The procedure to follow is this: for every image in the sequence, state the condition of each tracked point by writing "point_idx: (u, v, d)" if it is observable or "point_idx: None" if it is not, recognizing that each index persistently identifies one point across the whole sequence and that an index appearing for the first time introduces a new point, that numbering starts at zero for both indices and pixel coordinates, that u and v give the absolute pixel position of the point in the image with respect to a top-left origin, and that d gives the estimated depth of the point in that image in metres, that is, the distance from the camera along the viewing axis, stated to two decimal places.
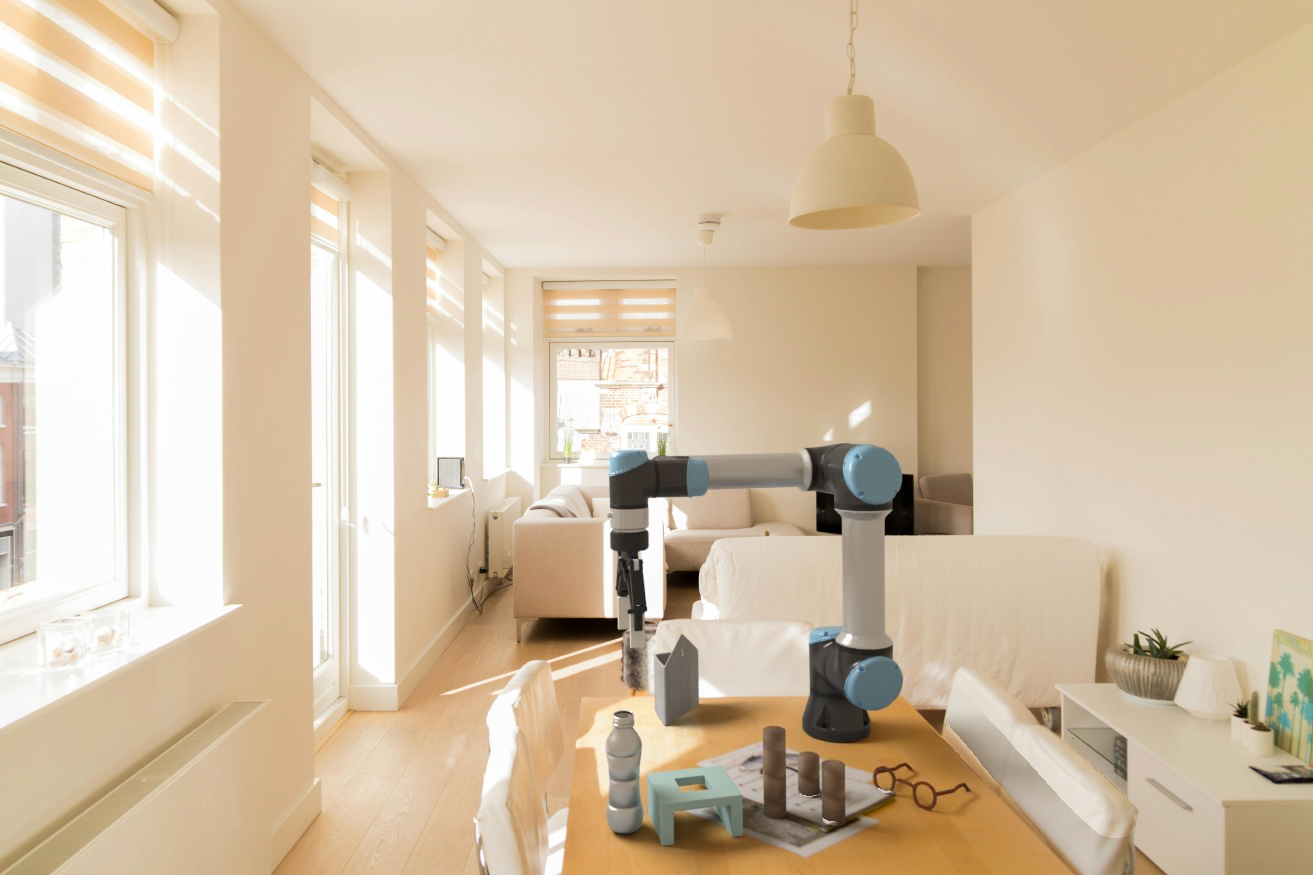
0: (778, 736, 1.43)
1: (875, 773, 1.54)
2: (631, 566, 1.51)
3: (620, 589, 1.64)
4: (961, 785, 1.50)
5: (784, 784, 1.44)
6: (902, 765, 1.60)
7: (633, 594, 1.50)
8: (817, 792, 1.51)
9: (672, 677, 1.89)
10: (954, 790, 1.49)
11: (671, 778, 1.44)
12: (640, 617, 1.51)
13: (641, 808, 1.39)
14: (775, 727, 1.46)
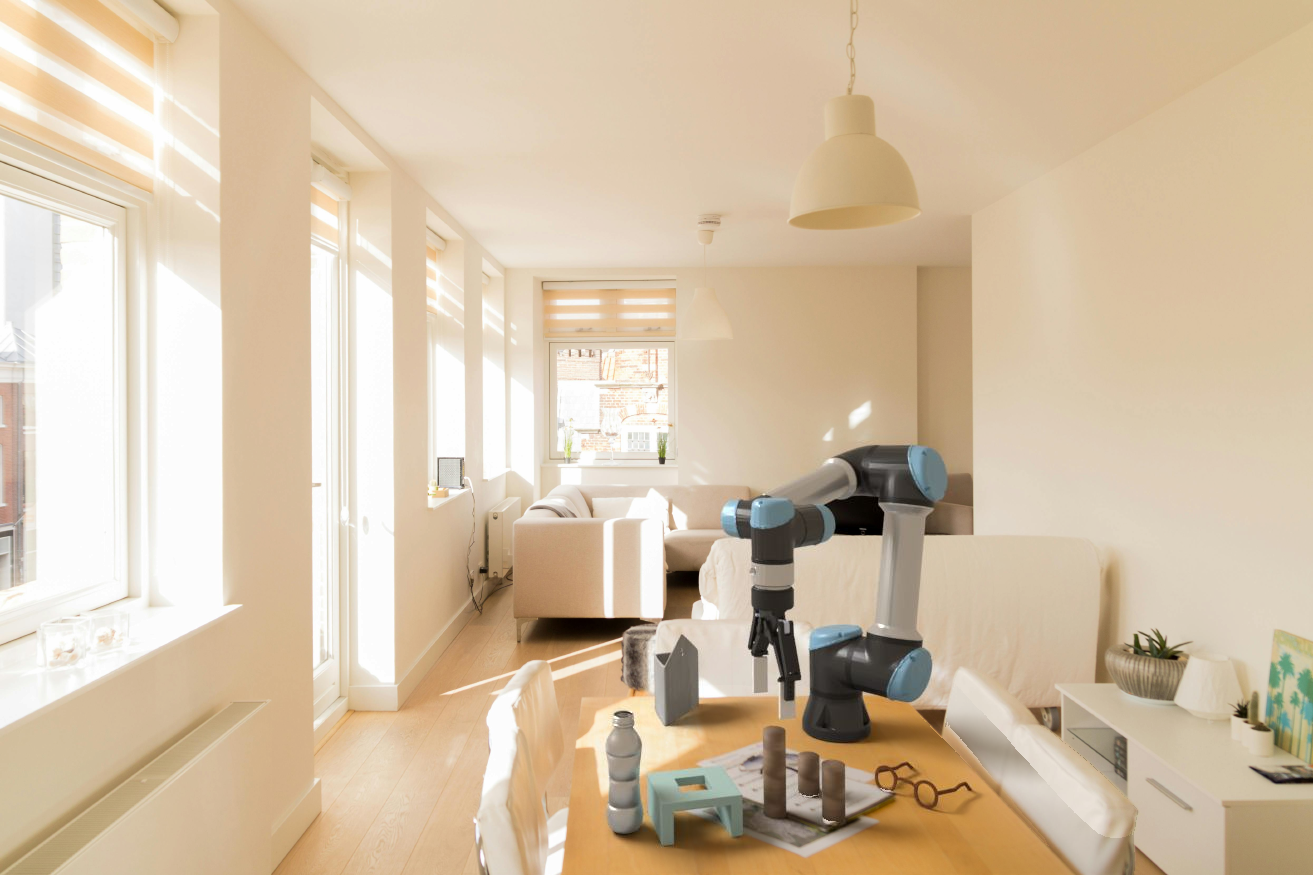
0: (778, 736, 1.43)
1: (877, 772, 1.55)
2: (781, 629, 1.37)
3: (756, 649, 1.50)
4: (962, 784, 1.51)
5: (784, 784, 1.44)
6: (903, 764, 1.60)
7: (785, 660, 1.35)
8: (817, 792, 1.51)
9: (672, 677, 1.89)
10: (955, 789, 1.49)
11: (671, 778, 1.44)
12: (792, 686, 1.36)
13: (641, 808, 1.39)
14: (775, 727, 1.46)
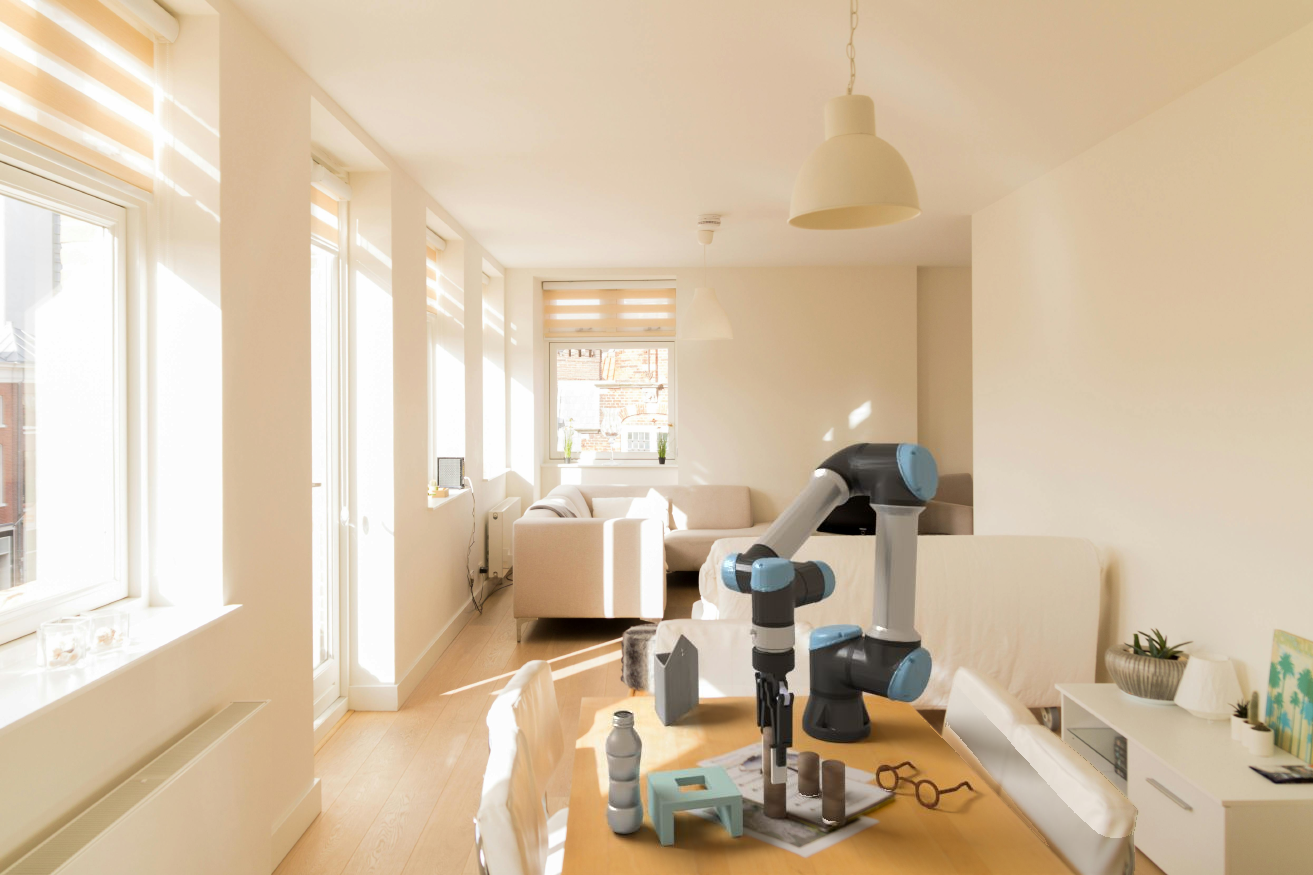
0: None
1: (878, 771, 1.55)
2: (781, 702, 1.38)
3: (764, 722, 1.47)
4: (964, 784, 1.51)
5: (784, 784, 1.44)
6: (905, 764, 1.60)
7: (780, 731, 1.39)
8: (817, 792, 1.51)
9: (672, 677, 1.89)
10: (957, 788, 1.50)
11: (671, 778, 1.44)
12: (784, 752, 1.41)
13: (641, 808, 1.39)
14: None
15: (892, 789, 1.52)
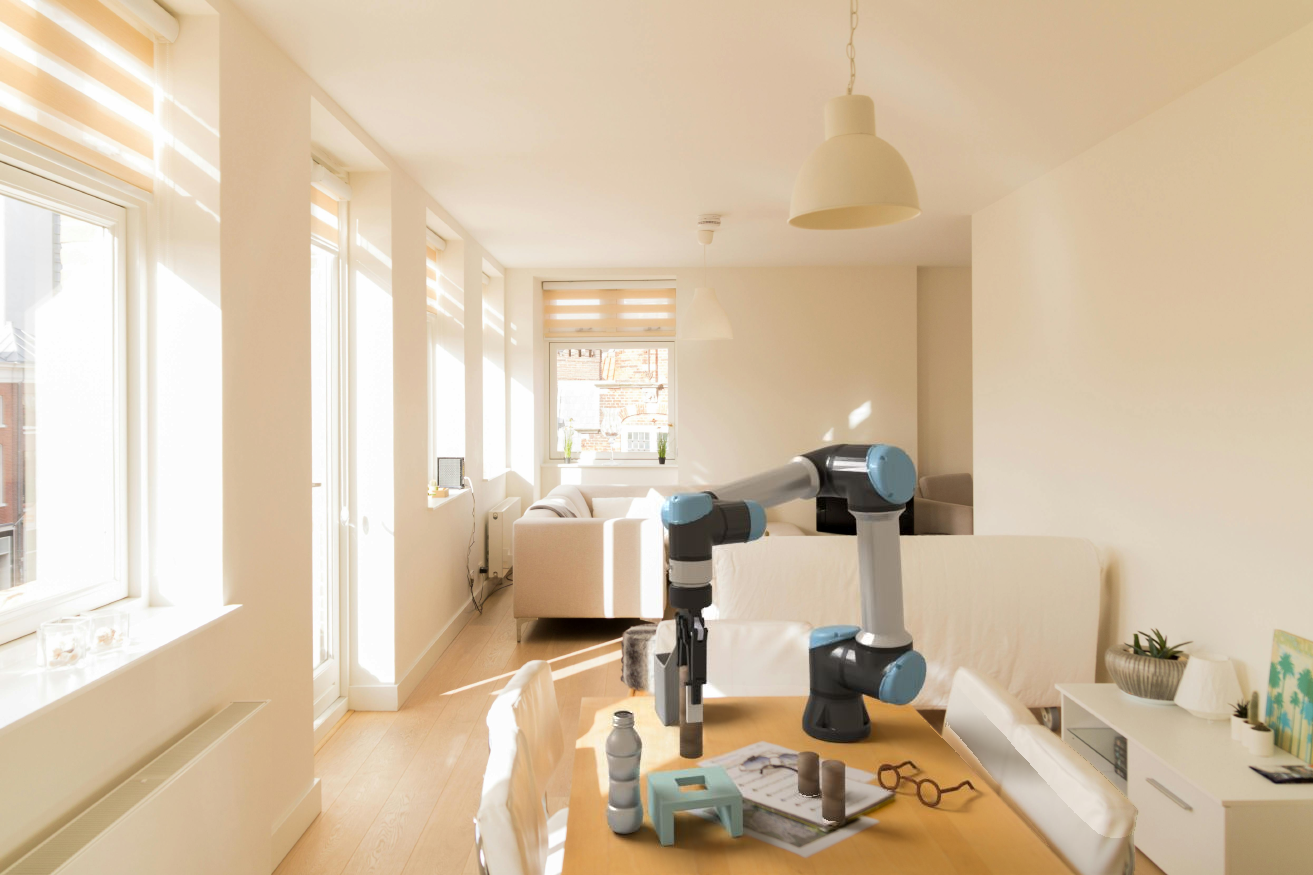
0: None
1: (879, 771, 1.55)
2: (694, 637, 1.35)
3: (682, 662, 1.43)
4: (965, 783, 1.51)
5: (700, 724, 1.40)
6: (906, 763, 1.61)
7: (693, 667, 1.35)
8: (817, 792, 1.51)
9: (672, 677, 1.89)
10: (958, 788, 1.50)
11: (671, 778, 1.44)
12: (698, 689, 1.37)
13: (641, 808, 1.39)
14: None
15: (894, 788, 1.52)
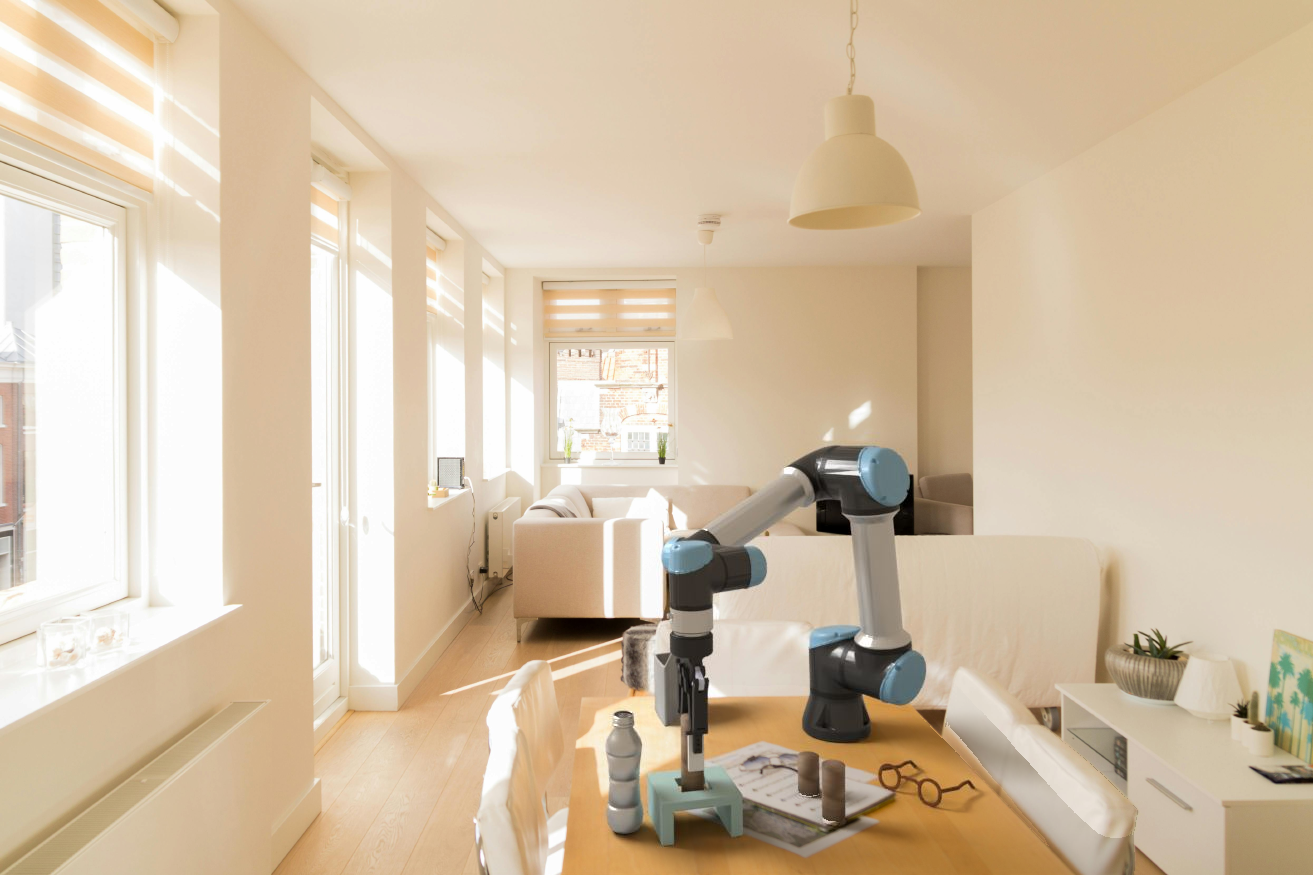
0: None
1: (880, 770, 1.55)
2: (696, 687, 1.35)
3: (683, 709, 1.43)
4: (966, 782, 1.52)
5: (701, 772, 1.40)
6: (907, 763, 1.61)
7: (695, 717, 1.36)
8: (817, 792, 1.51)
9: (672, 677, 1.89)
10: (959, 787, 1.50)
11: (671, 778, 1.44)
12: (700, 739, 1.38)
13: (641, 808, 1.39)
14: None
15: (894, 788, 1.53)
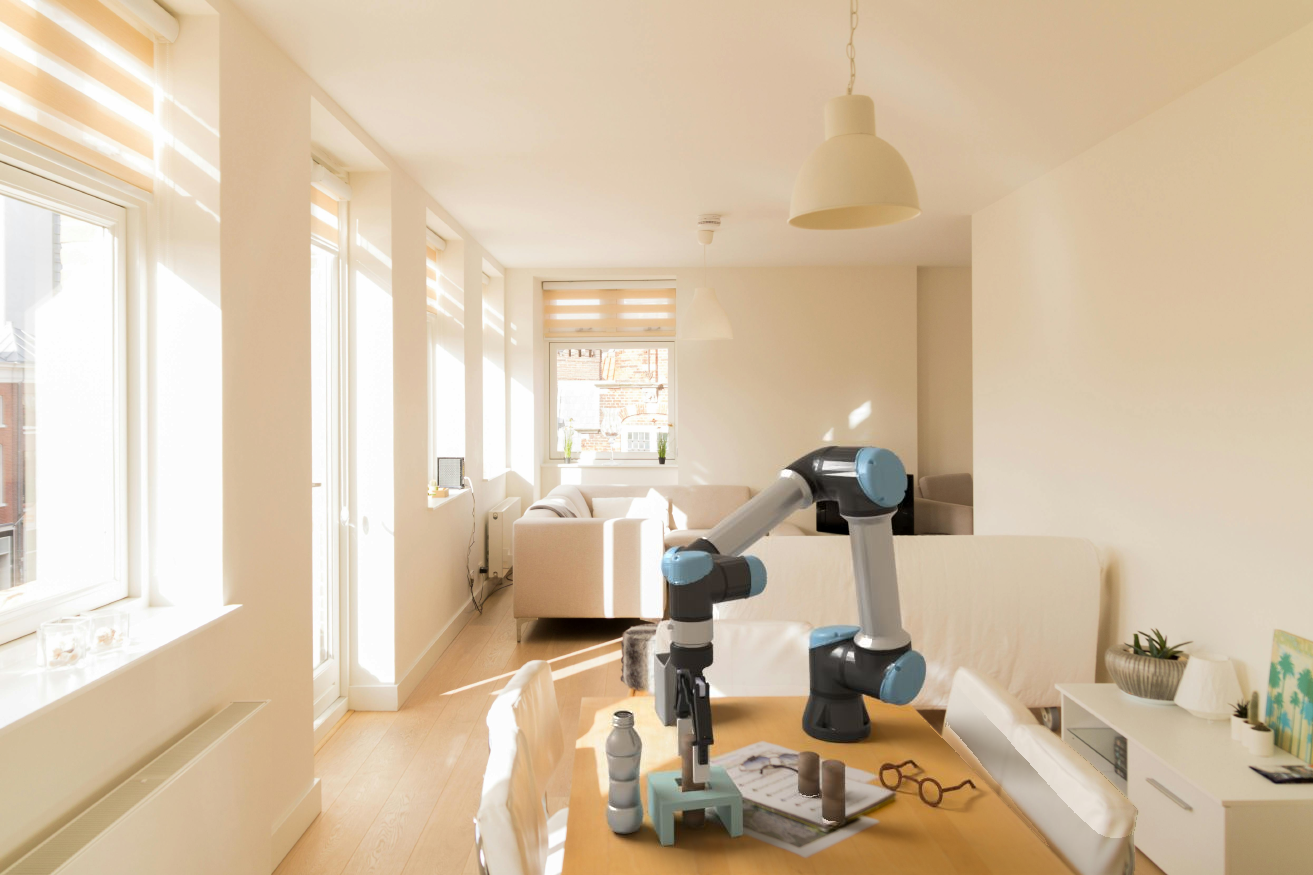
0: None
1: (881, 770, 1.56)
2: (697, 692, 1.34)
3: (680, 709, 1.46)
4: (966, 782, 1.52)
5: None
6: (908, 762, 1.61)
7: (699, 725, 1.33)
8: (817, 792, 1.51)
9: (672, 677, 1.89)
10: (960, 787, 1.50)
11: (671, 778, 1.44)
12: (705, 749, 1.35)
13: (641, 808, 1.39)
14: None
15: (895, 787, 1.53)
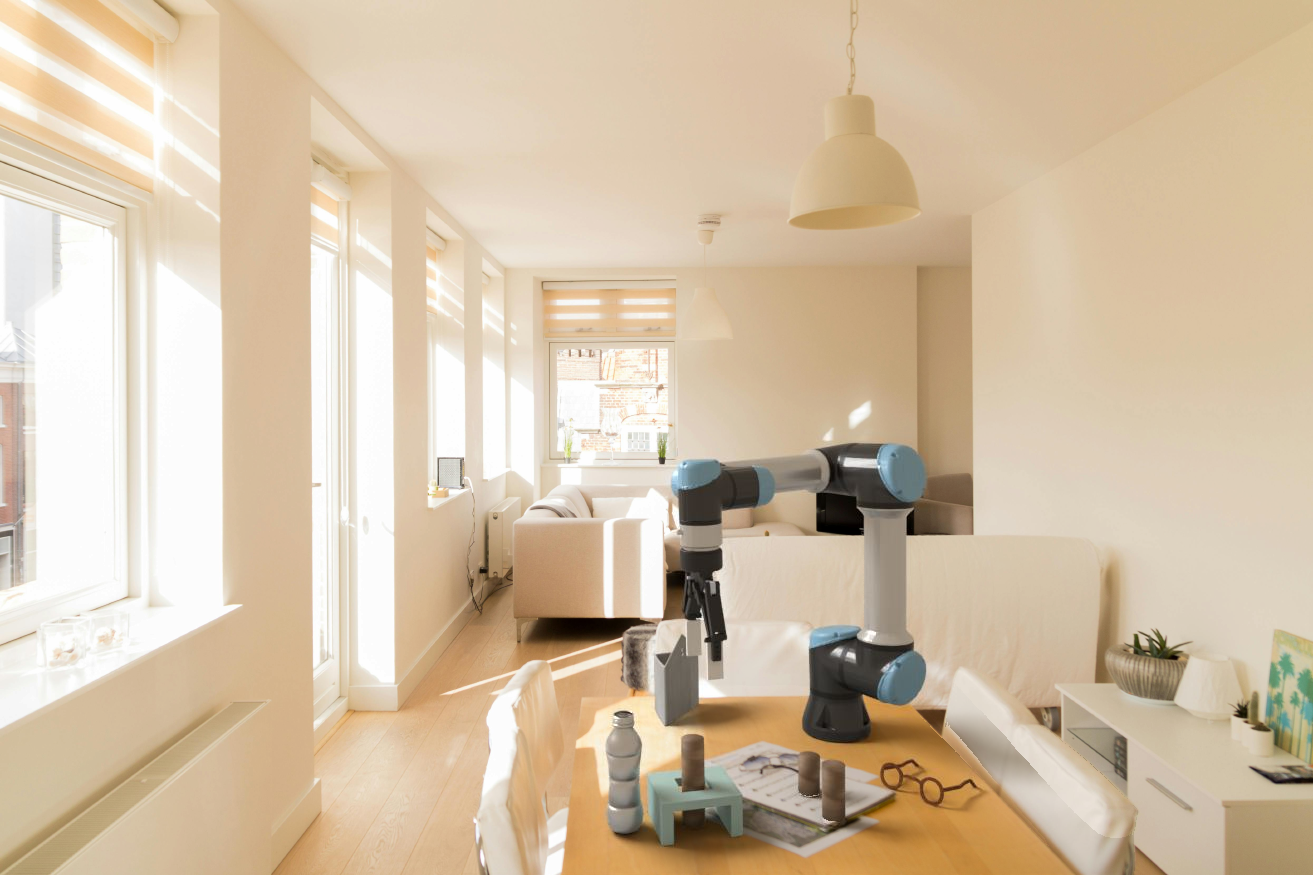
0: (695, 744, 1.40)
1: (882, 769, 1.56)
2: (707, 589, 1.36)
3: (689, 612, 1.49)
4: (967, 781, 1.52)
5: None
6: (909, 762, 1.61)
7: (711, 621, 1.34)
8: (817, 792, 1.51)
9: (672, 677, 1.89)
10: (961, 786, 1.51)
11: (671, 778, 1.44)
12: (719, 646, 1.35)
13: (641, 808, 1.39)
14: (694, 735, 1.43)
15: (896, 787, 1.53)
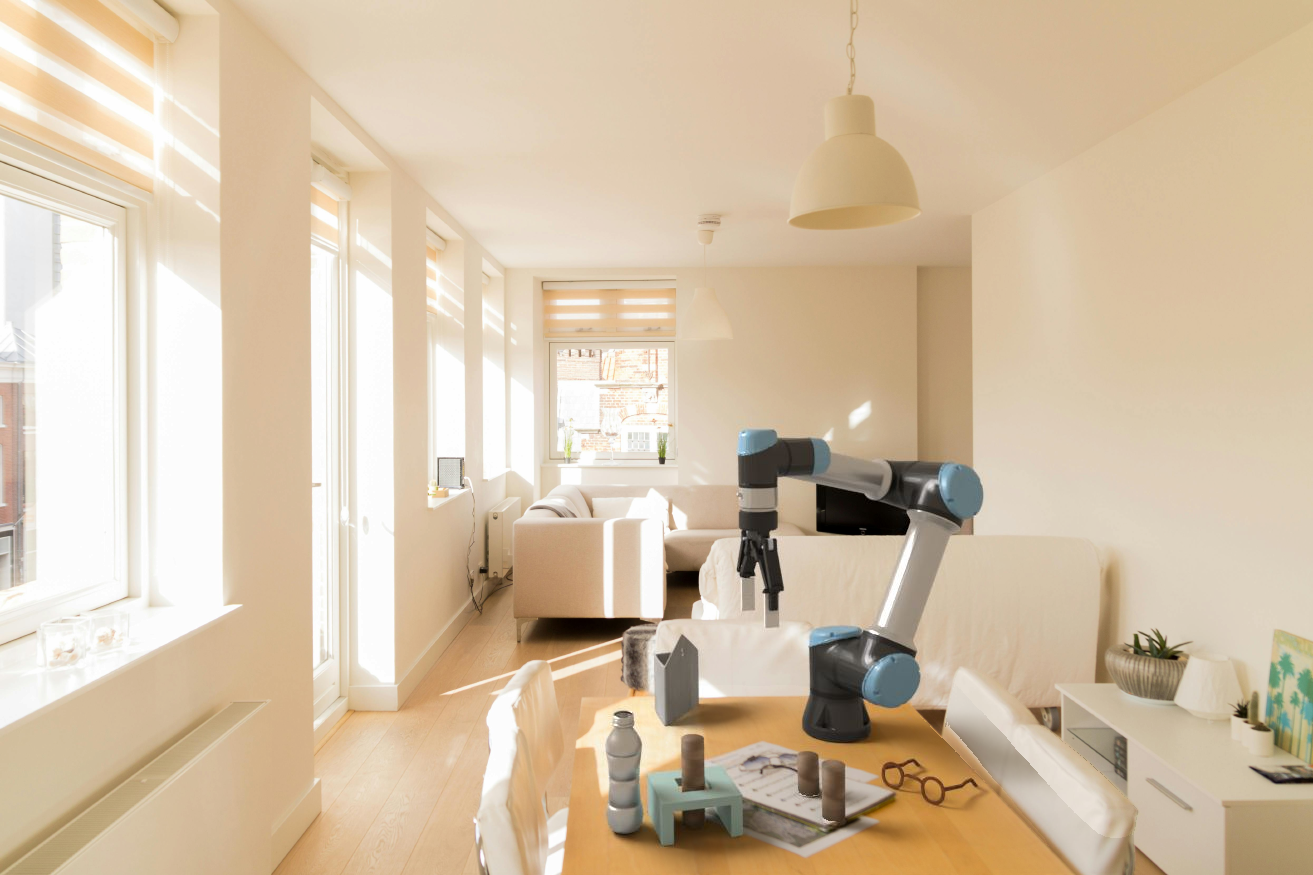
0: (695, 744, 1.40)
1: (883, 769, 1.56)
2: (766, 545, 1.50)
3: (744, 570, 1.63)
4: (969, 780, 1.52)
5: None
6: (910, 761, 1.61)
7: (769, 573, 1.48)
8: (816, 792, 1.51)
9: (672, 677, 1.89)
10: (962, 785, 1.51)
11: (671, 778, 1.44)
12: (776, 597, 1.49)
13: (641, 808, 1.39)
14: (694, 735, 1.43)
15: (898, 786, 1.53)
